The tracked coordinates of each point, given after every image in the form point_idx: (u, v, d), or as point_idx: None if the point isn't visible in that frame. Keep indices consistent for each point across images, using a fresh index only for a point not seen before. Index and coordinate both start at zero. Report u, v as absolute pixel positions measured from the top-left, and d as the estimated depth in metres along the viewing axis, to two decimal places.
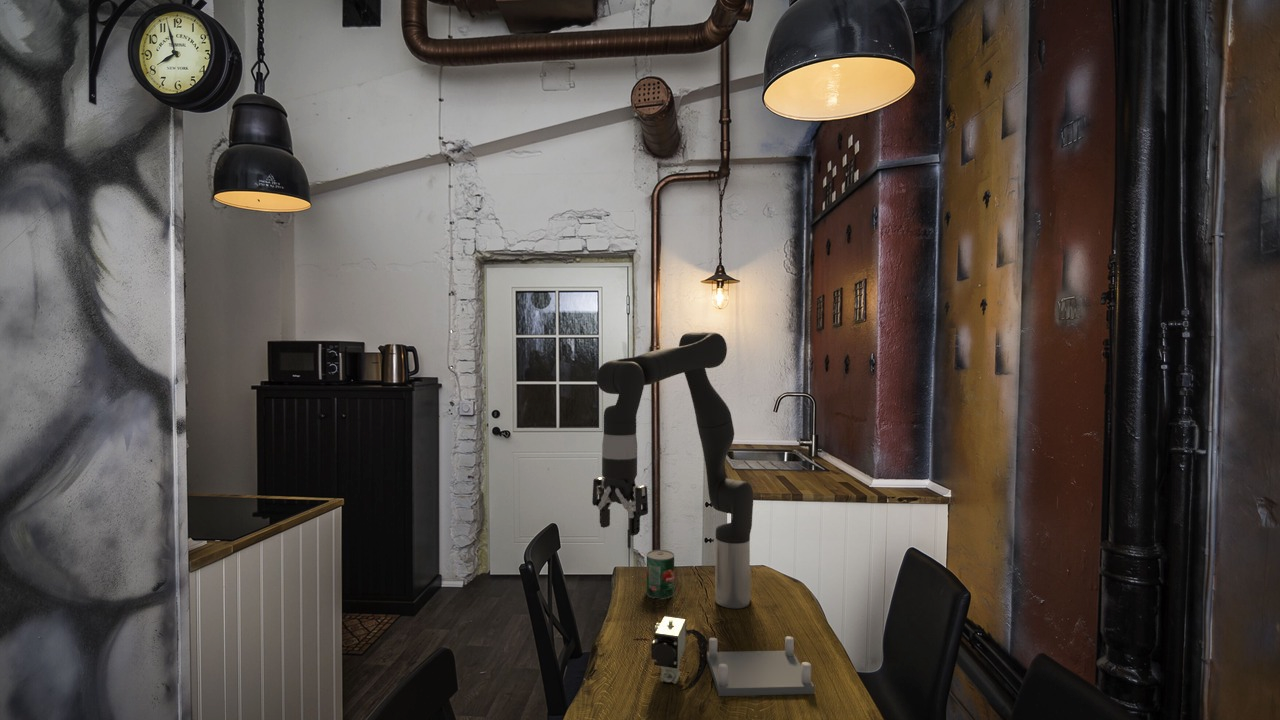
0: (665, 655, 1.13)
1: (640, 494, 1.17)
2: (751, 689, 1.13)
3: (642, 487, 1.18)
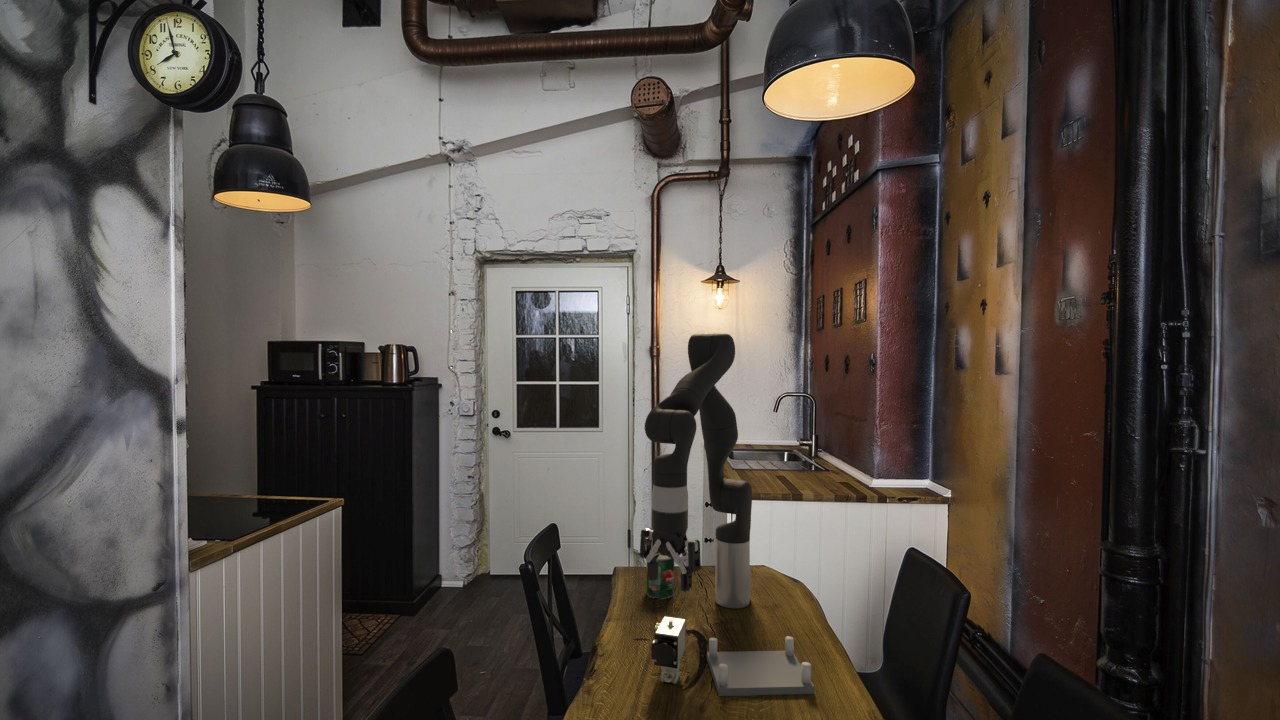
0: (665, 655, 1.13)
1: (694, 550, 1.13)
2: (751, 689, 1.13)
3: (695, 542, 1.14)
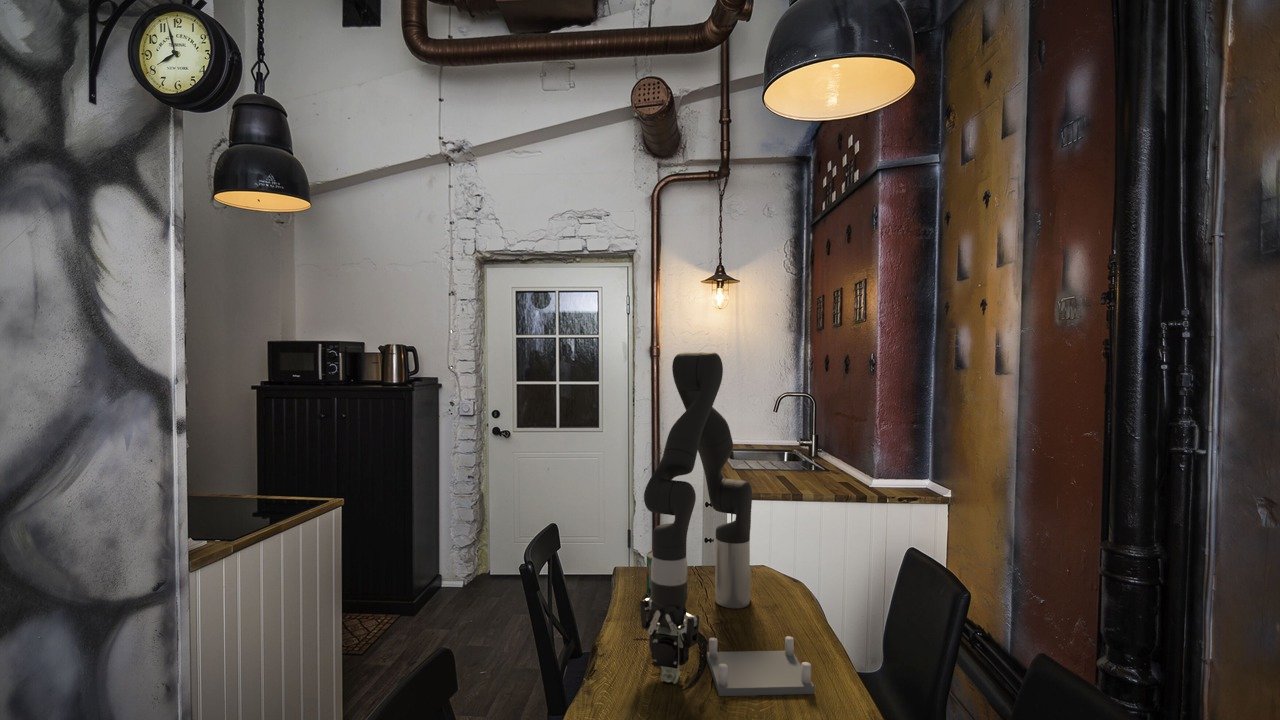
0: (665, 655, 1.13)
1: (693, 626, 1.13)
2: (751, 689, 1.13)
3: (695, 618, 1.14)
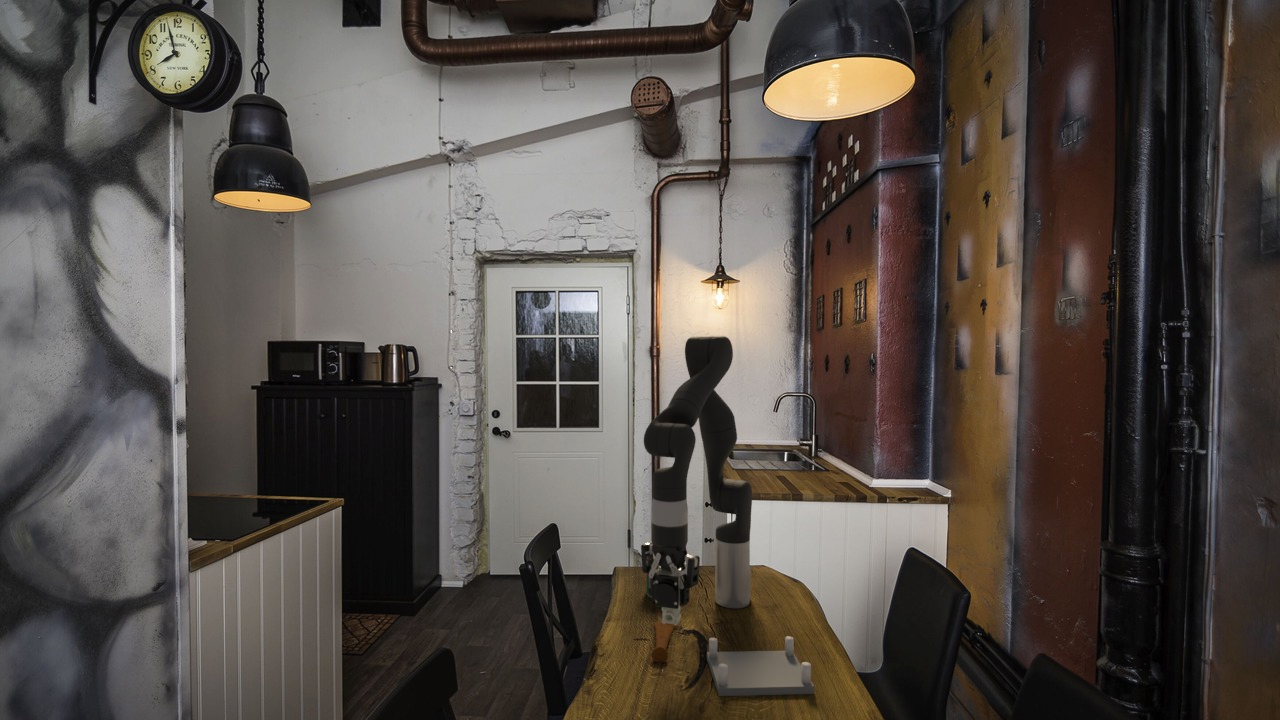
0: (666, 595, 1.13)
1: (693, 566, 1.13)
2: (751, 689, 1.13)
3: (695, 558, 1.14)
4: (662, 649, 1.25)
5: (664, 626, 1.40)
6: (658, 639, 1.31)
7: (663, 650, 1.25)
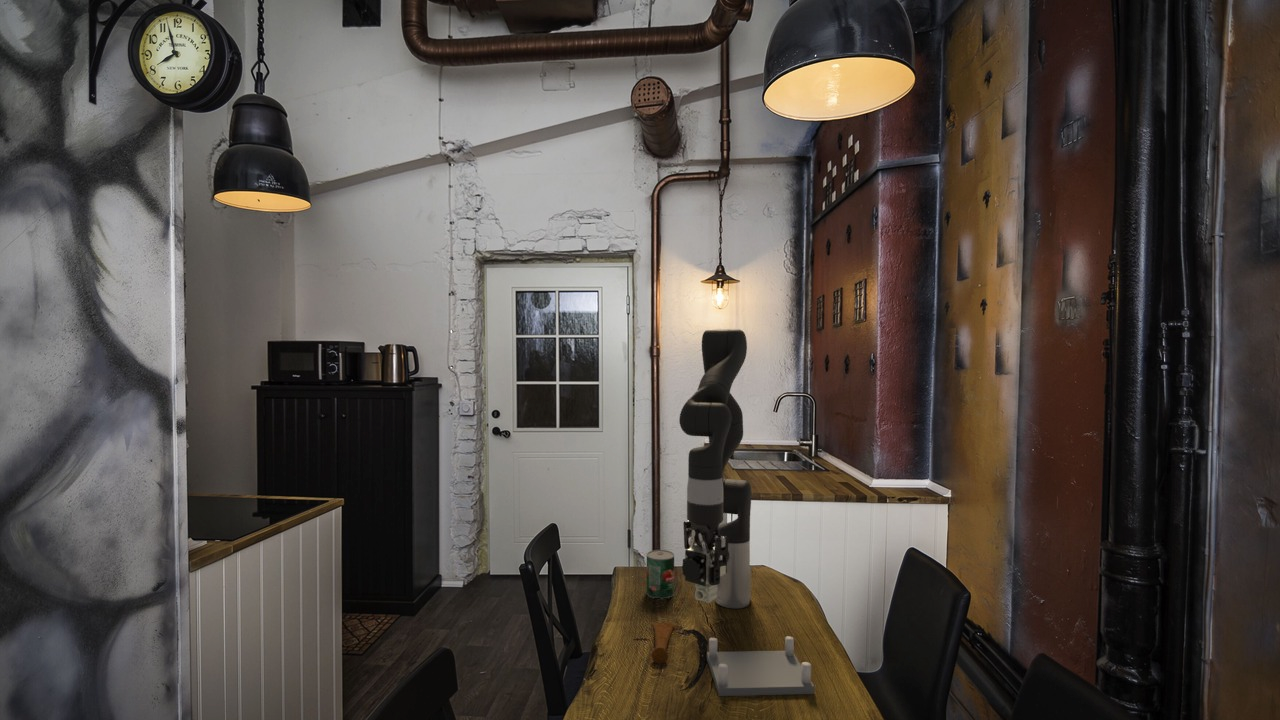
0: (692, 570, 1.14)
1: (720, 546, 1.13)
2: (751, 689, 1.13)
3: (723, 538, 1.13)
4: (662, 649, 1.25)
5: (663, 626, 1.40)
6: (658, 640, 1.31)
7: (663, 650, 1.25)
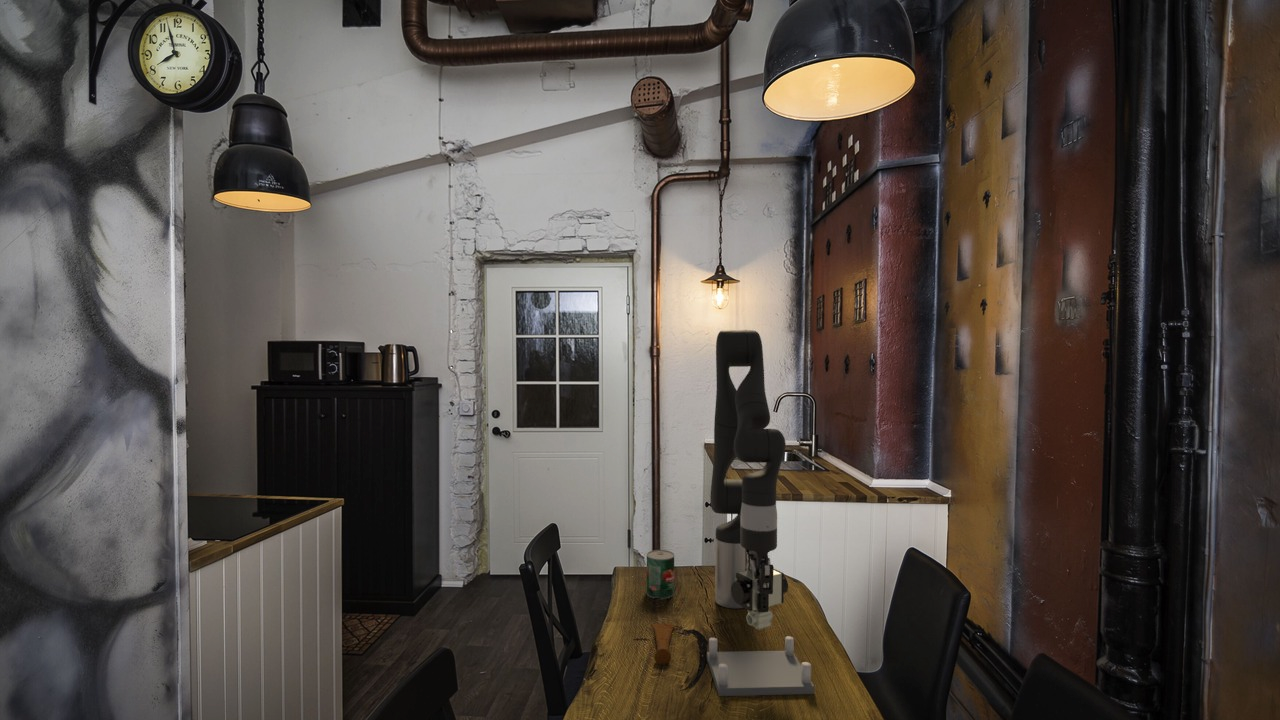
0: (738, 594, 1.16)
1: (763, 573, 1.13)
2: (751, 689, 1.13)
3: (767, 566, 1.13)
4: (665, 651, 1.24)
5: (663, 627, 1.39)
6: (660, 641, 1.30)
7: (666, 652, 1.24)
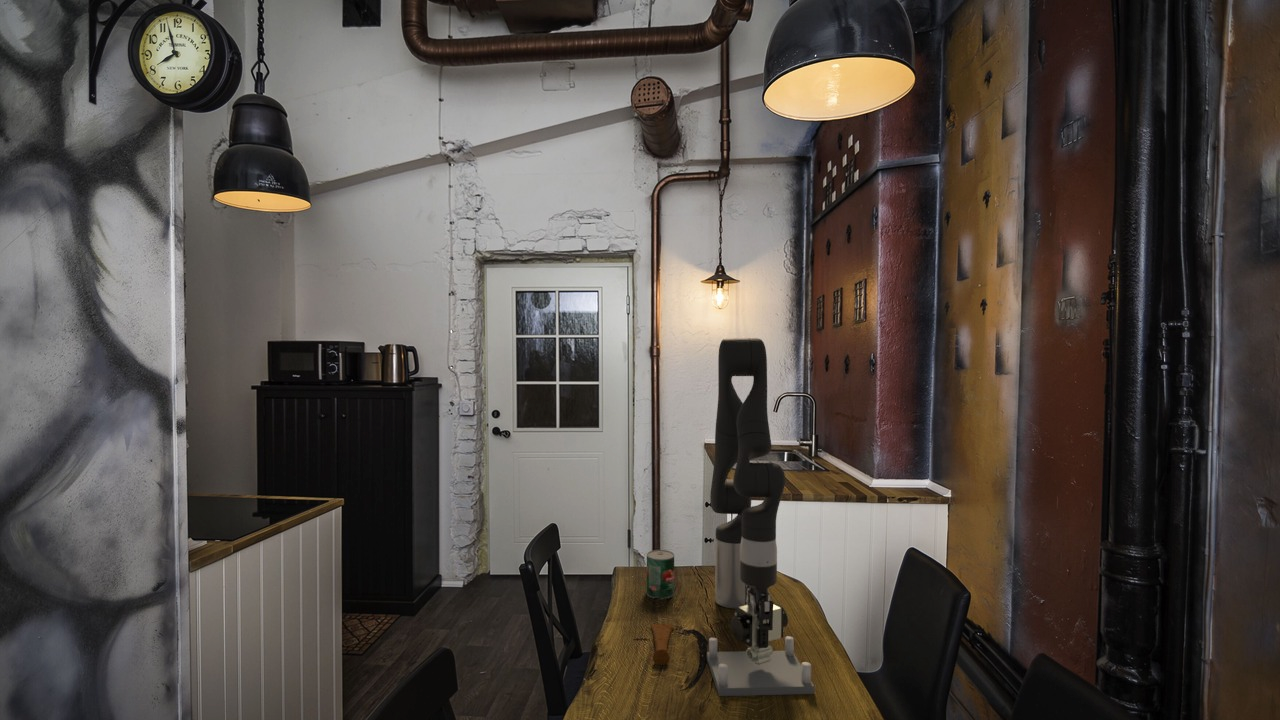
0: (737, 629, 1.16)
1: (763, 610, 1.13)
2: (751, 689, 1.13)
3: (767, 603, 1.13)
4: (663, 651, 1.24)
5: (662, 628, 1.39)
6: (658, 642, 1.30)
7: (664, 652, 1.24)
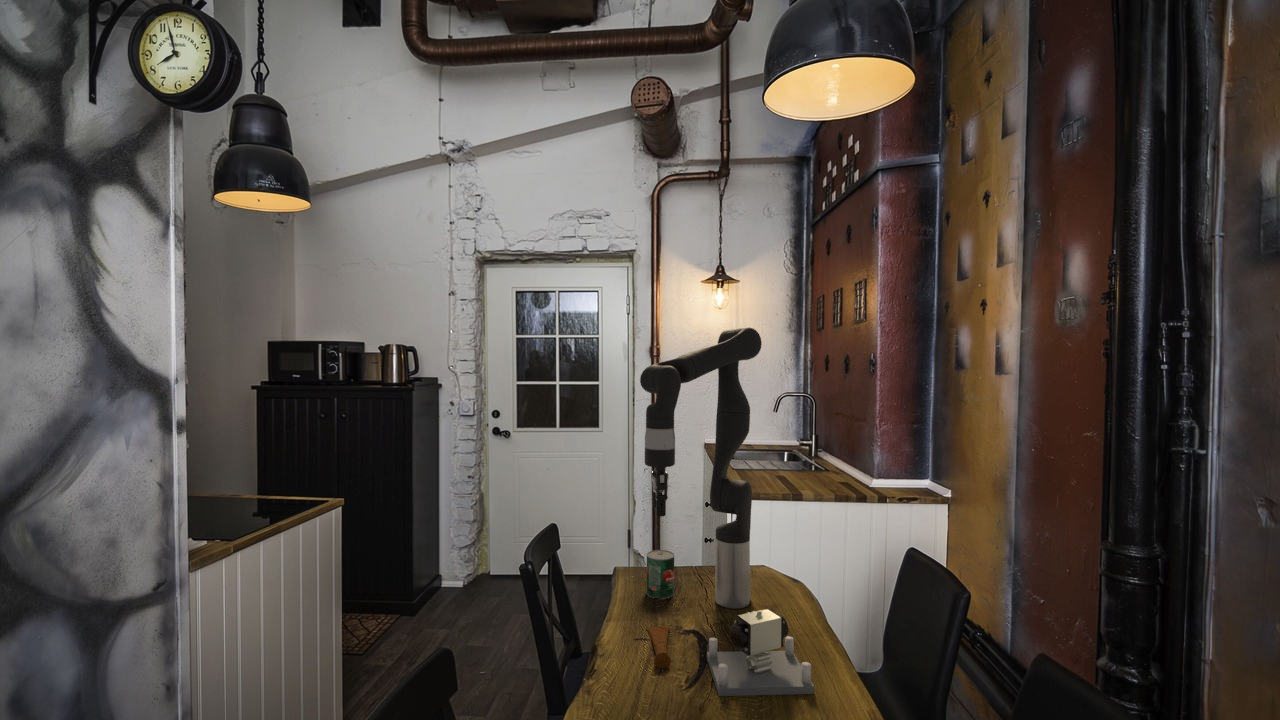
0: (736, 637, 1.17)
1: (658, 481, 1.36)
2: (751, 689, 1.13)
3: (662, 475, 1.36)
4: (665, 654, 1.23)
5: (658, 630, 1.38)
6: (657, 645, 1.29)
7: (666, 655, 1.23)
